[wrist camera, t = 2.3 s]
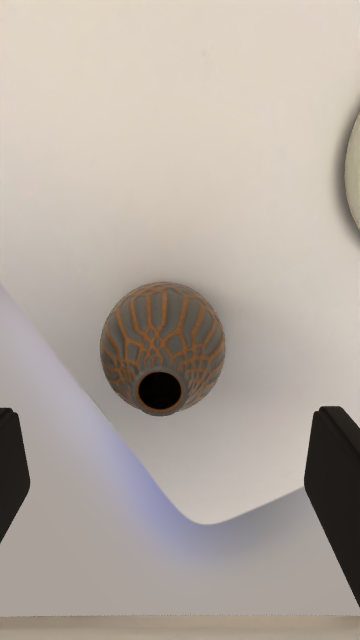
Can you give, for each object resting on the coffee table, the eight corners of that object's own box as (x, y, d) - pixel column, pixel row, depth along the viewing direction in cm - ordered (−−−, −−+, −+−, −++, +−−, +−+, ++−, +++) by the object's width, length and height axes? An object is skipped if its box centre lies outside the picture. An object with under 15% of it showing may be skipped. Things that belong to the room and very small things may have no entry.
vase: (98, 291, 21) (47, 340, 12) (200, 260, 20) (220, 290, 12) (133, 381, 23) (110, 476, 14) (227, 355, 22) (259, 438, 14)
